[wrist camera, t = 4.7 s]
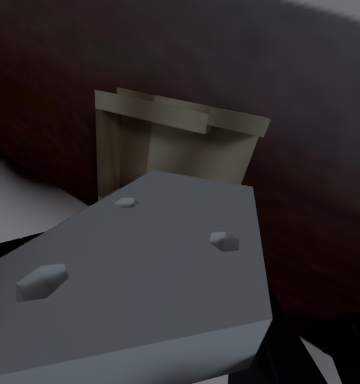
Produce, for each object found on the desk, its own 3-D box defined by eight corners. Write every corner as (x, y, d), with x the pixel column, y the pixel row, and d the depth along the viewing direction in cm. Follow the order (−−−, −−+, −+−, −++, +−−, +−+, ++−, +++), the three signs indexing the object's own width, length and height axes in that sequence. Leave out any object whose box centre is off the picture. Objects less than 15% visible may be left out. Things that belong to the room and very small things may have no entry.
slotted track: (264, 117, 13) (271, 117, 10) (221, 232, 18) (216, 256, 14) (124, 89, 15) (94, 81, 12) (120, 196, 20) (98, 210, 17)
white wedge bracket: (60, 169, 9) (-318, 440, 2) (227, 170, 11) (405, 291, 4) (73, 224, 11) (-94, 501, 3) (219, 216, 13) (333, 370, 5)
